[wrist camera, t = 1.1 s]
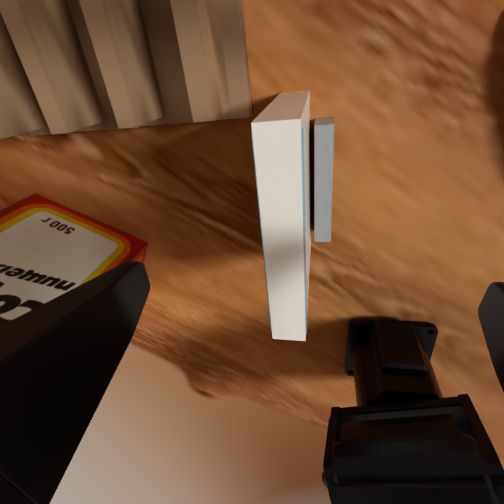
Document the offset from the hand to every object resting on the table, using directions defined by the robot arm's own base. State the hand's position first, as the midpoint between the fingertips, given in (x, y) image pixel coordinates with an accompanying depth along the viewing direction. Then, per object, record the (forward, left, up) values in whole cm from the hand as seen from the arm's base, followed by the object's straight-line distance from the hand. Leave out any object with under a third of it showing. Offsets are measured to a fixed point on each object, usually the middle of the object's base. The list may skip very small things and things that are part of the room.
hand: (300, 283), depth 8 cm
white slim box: (-2, +1, -13) cm, 13 cm away
